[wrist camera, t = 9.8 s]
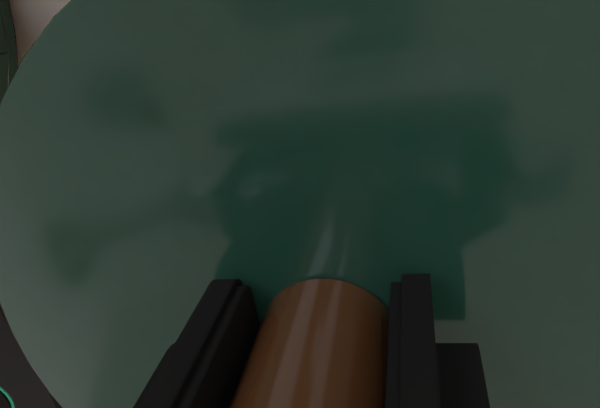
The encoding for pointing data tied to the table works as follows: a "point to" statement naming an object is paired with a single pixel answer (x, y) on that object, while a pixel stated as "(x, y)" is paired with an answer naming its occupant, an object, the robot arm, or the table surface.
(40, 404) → the smart home device
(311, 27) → the lid
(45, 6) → the table surface
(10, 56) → the pot
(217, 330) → the robot arm
